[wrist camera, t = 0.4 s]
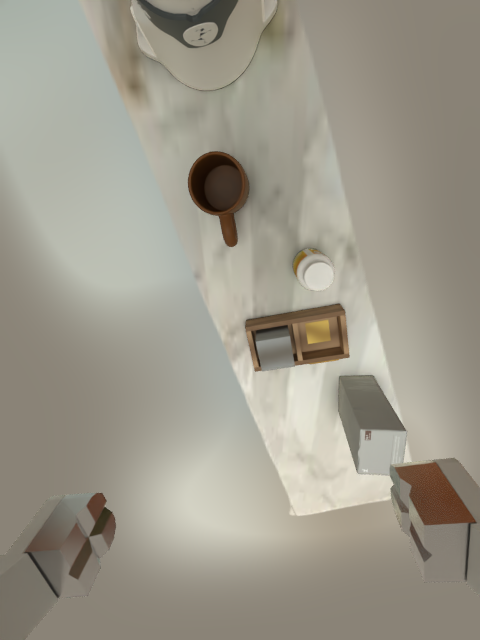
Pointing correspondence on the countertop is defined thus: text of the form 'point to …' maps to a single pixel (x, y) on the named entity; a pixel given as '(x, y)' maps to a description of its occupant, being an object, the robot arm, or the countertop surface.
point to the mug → (219, 189)
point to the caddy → (298, 338)
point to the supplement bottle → (313, 270)
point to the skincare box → (370, 425)
